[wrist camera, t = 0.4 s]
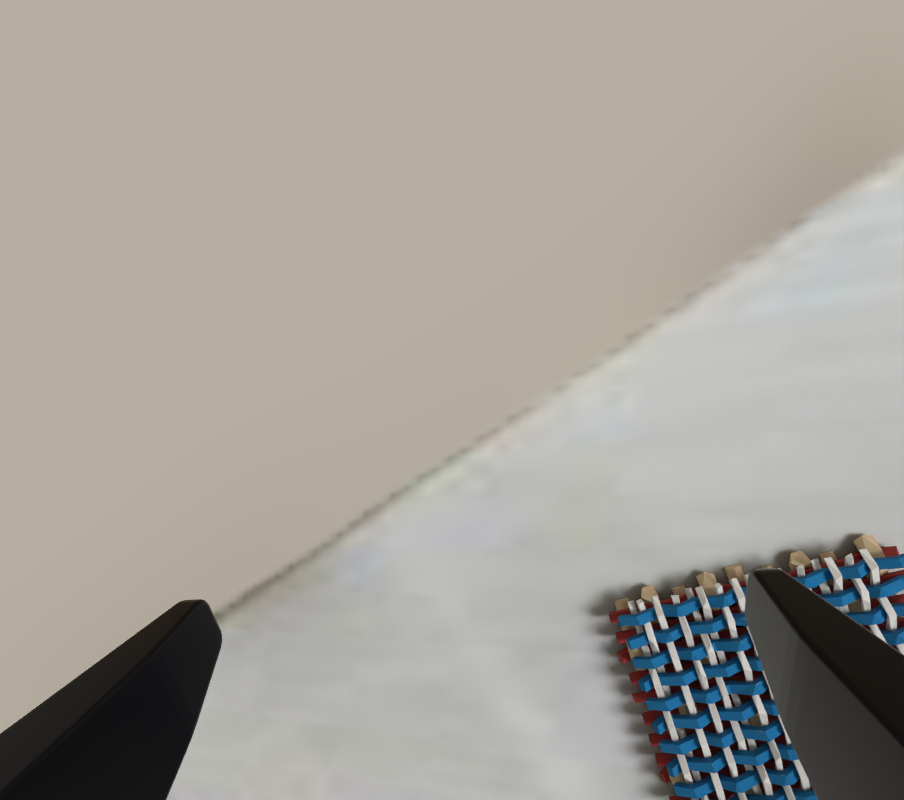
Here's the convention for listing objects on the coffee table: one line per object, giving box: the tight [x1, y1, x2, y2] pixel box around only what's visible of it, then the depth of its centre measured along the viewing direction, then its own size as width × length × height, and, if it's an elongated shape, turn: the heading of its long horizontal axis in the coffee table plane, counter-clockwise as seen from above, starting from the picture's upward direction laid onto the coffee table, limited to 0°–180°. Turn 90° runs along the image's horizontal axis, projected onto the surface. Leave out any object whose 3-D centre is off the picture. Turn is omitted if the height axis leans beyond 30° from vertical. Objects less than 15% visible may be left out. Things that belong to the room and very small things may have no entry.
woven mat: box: [609, 535, 904, 800], centre depth 20 cm, size 10×11×2 cm
